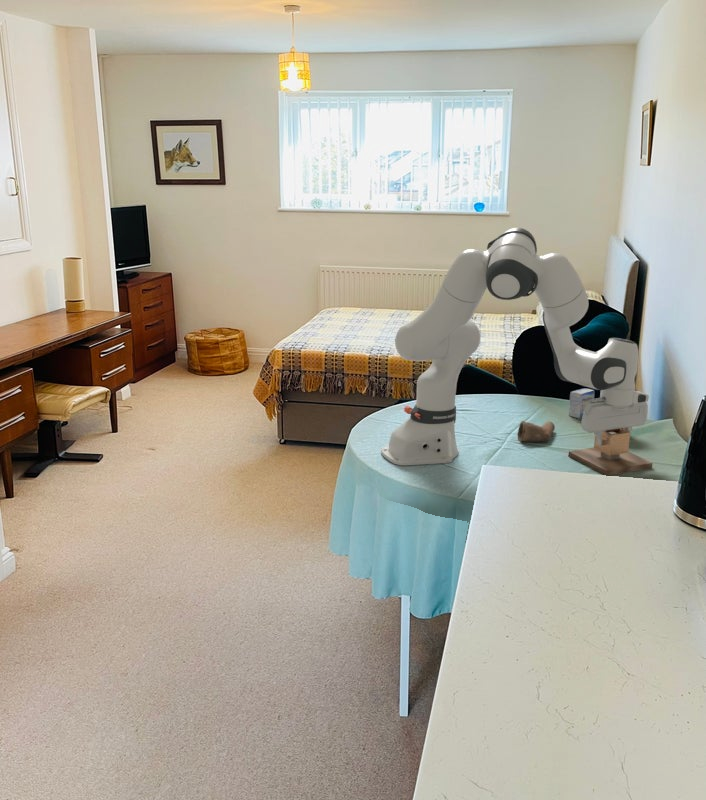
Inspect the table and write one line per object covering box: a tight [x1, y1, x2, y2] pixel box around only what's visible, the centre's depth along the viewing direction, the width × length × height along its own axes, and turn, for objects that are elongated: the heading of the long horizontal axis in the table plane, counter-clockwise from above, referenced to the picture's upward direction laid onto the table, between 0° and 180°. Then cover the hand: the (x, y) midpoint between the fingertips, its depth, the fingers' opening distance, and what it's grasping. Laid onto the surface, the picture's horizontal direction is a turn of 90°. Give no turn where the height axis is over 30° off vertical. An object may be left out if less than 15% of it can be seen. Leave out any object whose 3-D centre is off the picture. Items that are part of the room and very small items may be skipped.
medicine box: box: [568, 387, 595, 419], centre depth 251 cm, size 8×4×9 cm, turn 129°
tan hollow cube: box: [593, 428, 631, 456], centre depth 208 cm, size 6×6×6 cm
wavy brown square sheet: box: [567, 432, 653, 476], centre depth 209 cm, size 16×16×8 cm
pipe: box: [517, 420, 556, 443], centre depth 230 cm, size 6×17×10 cm
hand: (611, 443), depth 208 cm, fingers closed on tan hollow cube, 6 cm apart
